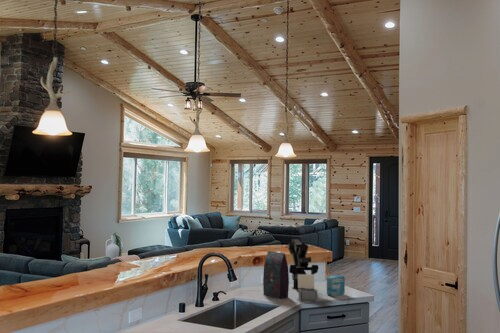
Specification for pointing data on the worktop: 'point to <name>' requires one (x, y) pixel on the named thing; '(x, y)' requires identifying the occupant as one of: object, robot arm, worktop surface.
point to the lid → (305, 280)
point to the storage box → (307, 294)
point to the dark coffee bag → (276, 275)
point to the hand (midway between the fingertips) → (305, 279)
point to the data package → (335, 285)
